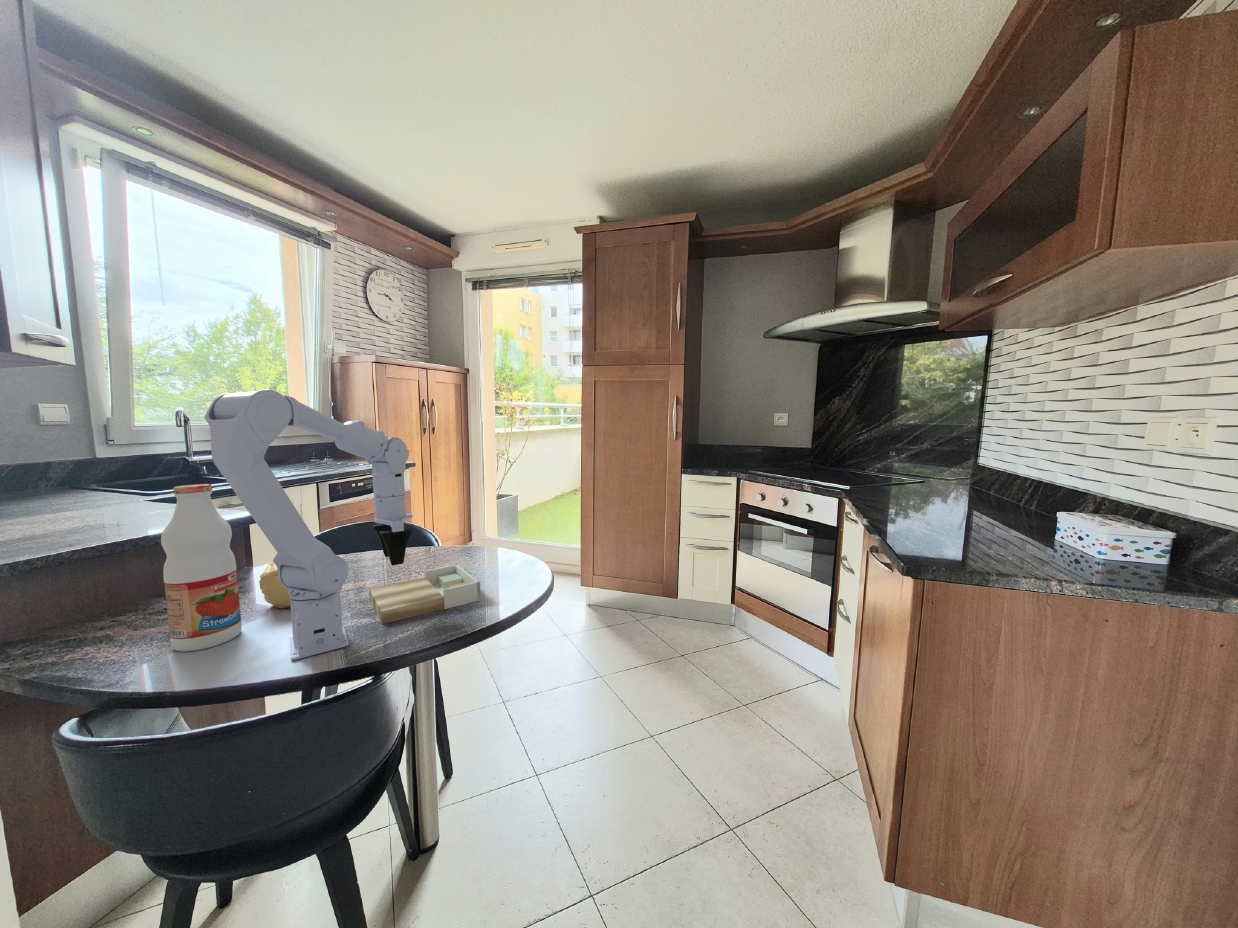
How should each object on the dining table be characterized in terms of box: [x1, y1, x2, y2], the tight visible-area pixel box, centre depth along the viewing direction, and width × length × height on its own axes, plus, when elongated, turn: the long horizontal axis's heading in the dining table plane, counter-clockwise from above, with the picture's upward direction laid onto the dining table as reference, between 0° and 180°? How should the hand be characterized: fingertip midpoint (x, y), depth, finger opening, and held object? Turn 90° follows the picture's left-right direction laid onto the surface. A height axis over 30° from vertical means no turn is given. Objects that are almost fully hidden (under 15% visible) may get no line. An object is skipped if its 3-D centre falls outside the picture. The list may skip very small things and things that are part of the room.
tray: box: [424, 564, 482, 610], centre depth 100 cm, size 16×8×4 cm, turn 36°
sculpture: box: [258, 561, 291, 609], centre depth 97 cm, size 12×12×11 cm
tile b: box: [438, 573, 462, 589], centre depth 104 cm, size 5×4×2 cm
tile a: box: [448, 582, 468, 588], centre depth 98 cm, size 5×4×2 cm
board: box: [368, 576, 445, 625], centre depth 95 cm, size 16×12×2 cm
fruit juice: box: [160, 483, 243, 653], centre depth 79 cm, size 9×9×28 cm
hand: (393, 559), depth 93 cm, fingers open, 7 cm apart
